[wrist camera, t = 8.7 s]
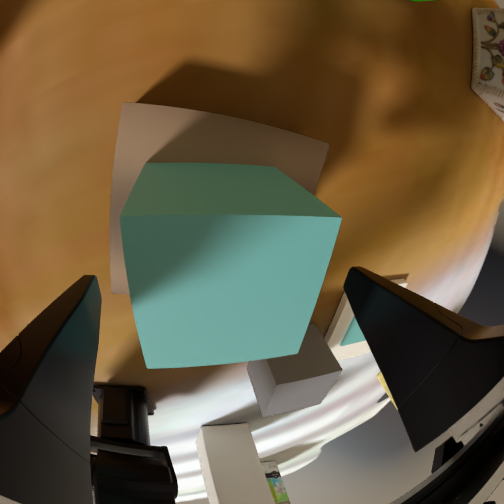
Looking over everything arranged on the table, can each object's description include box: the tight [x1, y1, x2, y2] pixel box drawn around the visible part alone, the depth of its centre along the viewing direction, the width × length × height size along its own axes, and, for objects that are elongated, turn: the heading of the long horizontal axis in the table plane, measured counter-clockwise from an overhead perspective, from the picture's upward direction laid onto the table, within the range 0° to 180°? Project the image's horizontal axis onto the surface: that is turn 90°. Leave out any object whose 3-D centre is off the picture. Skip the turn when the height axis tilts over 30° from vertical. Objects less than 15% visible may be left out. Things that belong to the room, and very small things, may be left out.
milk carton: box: [196, 423, 275, 504], centre depth 27 cm, size 7×7×19 cm
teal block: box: [120, 163, 342, 369], centre depth 11 cm, size 6×6×6 cm
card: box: [324, 278, 408, 361], centre depth 27 cm, size 11×8×1 cm
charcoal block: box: [247, 323, 342, 417], centre depth 23 cm, size 6×6×6 cm
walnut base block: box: [110, 102, 330, 295], centre depth 15 cm, size 10×10×4 cm
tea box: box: [261, 461, 290, 504], centre depth 48 cm, size 15×10×15 cm
